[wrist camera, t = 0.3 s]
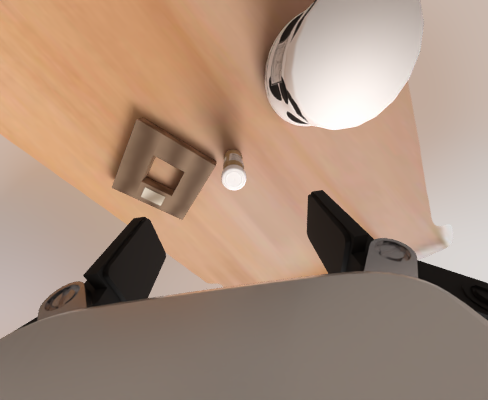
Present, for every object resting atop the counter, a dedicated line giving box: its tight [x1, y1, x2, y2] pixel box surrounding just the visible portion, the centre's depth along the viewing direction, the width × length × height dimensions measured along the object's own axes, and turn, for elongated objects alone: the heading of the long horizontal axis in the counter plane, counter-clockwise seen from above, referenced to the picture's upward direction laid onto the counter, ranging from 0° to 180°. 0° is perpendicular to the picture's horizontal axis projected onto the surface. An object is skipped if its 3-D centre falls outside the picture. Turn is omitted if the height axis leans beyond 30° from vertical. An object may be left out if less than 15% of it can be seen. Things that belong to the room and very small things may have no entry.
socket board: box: [112, 118, 216, 220], centre depth 43 cm, size 18×18×3 cm
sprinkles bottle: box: [222, 150, 246, 190], centre depth 38 cm, size 5×5×14 cm
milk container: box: [264, 0, 424, 130], centre depth 29 cm, size 17×17×18 cm
